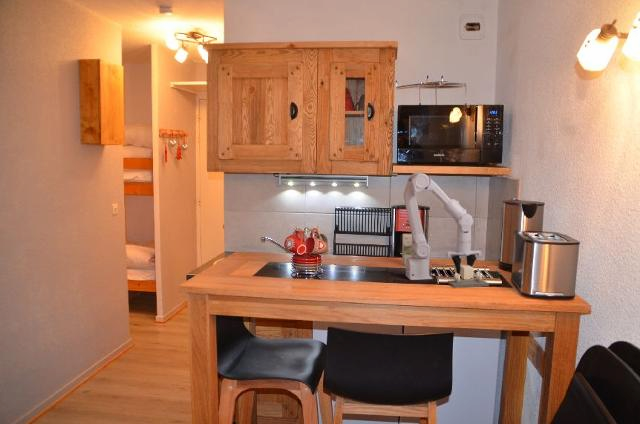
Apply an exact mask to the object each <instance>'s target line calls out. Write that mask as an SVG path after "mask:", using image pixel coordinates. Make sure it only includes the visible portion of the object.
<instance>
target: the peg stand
mask: <svg viewBox="0 0 640 424" xmlns="http://www.w3.org/2000/svg"><path fill="white" fill-rule="evenodd" d="M475 273H476V274H475V276H476V278H475V279H474V278H473V279H471V280H463V279H461V278H460V275H459V274H458V273H455V274H454V279H453V280H447V284H449V285H450V286H451V287H453V288H454V289H456V288H457V289H458V288H475V287H489V286H490V284H489V282H487V281H486V280H483V273H481V272H479V271H476V272H475Z"/></svg>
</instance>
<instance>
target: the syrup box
mask: <svg viewBox="0 0 640 424" xmlns="http://www.w3.org/2000/svg"><path fill="white" fill-rule="evenodd" d="M411 245H412V233H402V245H401V246H402V248H401V249H402V251H401V252H402V254H401V255H402V261H401V262H402V265H403V266H404V267H406V259H407V258H408V257H412V254H413V253H414V252H413V250H412V248H411Z"/></svg>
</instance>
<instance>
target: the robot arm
mask: <svg viewBox="0 0 640 424" xmlns="http://www.w3.org/2000/svg"><path fill="white" fill-rule="evenodd" d="M423 190H426V191H430V192H431V193H432V194H433V195H434V196H435V197H436V198H437V199H438V200H440V202H441V203H442V204H443V209H444V210H445V212H447V213H448V215H450V217H452V219H453V220H454V221H455V223H456V224H457V230H456V250H452V251H446V252H445V253H446V254H445V257H447V258H450V257H451V260H452V262H453V265H454V264H455V267H456V272H457V273H458V274H460V263H461V262H462V258H461V257H466V258H465V259H466V264H467V265H469V266H471V267H473V266H474V264H475V262H476V260H477V256H478V257H481V256H482V250H478V249H476V250H475V249H473V250H472V226H473V225H474V219H473V216H472V215H471V214H469V213H468V212H467V211H468V210H467V209H466V208H463V206H461V205H460V201H459V200H458V199H454V198H449V197H448V195H447V194H446V193H445V192H444V191H443V189H442V188H441V187H439V185H438V184H437V183H436V182H435V181H434V180H433V179H432V178H430V177H429V176H428V175H427V174H425V173H421V172H414V173H412V174H411V176H410V177H409V178H407V183H406V185H405V188H404V191H403V200H404V204H405V209H406V214H407V217H408V222H409V223H408V224H409V228H410V234H412V245H411V248H412V250H413V252H414V253H413V254H412V257H408V258H407V259H406V266H405V277H407V278H408V279H409V280H411V281H416V280H419V281H420V280H433V279H434V278H433V277H432V276H431V275H430V253H431V247H430V245H429V244H428V243H427V240H426V237H425V233H424V229H423V225H422V219H421V215H420V212H419V211H420V209H419V207H418V202H417V201H418V200H417V197H418V195H419V194H420V193H421V192H422V191H423Z"/></svg>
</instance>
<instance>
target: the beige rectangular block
mask: <svg viewBox="0 0 640 424" xmlns="http://www.w3.org/2000/svg"><path fill="white" fill-rule="evenodd" d="M474 270H475V267H473V266H472V267H471V266H469V265H467V262H463V261H461V263H460V274H459V275H460V276H461V277H462V278H464V279H470V278H473V279H474V274H475V273H474ZM454 272H455V273H457V272H456V267H455V264H454V263H453V273H454Z"/></svg>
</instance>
